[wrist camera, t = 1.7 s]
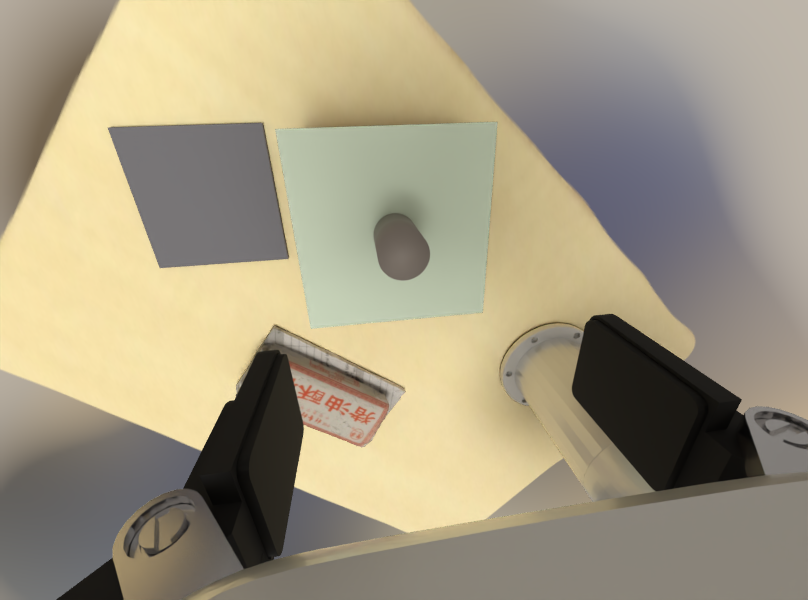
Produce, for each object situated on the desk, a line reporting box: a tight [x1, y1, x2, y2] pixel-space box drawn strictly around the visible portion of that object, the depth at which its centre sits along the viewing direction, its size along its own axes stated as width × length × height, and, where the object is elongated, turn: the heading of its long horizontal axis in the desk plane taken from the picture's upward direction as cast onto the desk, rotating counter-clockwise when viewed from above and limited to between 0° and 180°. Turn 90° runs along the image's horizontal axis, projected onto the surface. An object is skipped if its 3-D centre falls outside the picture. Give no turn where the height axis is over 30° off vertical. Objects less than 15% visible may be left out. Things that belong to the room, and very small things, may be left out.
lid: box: [275, 122, 497, 329], centre depth 23 cm, size 14×14×7 cm
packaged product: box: [236, 326, 405, 447], centre depth 39 cm, size 18×5×10 cm
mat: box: [108, 123, 289, 268], centre depth 30 cm, size 12×12×1 cm
